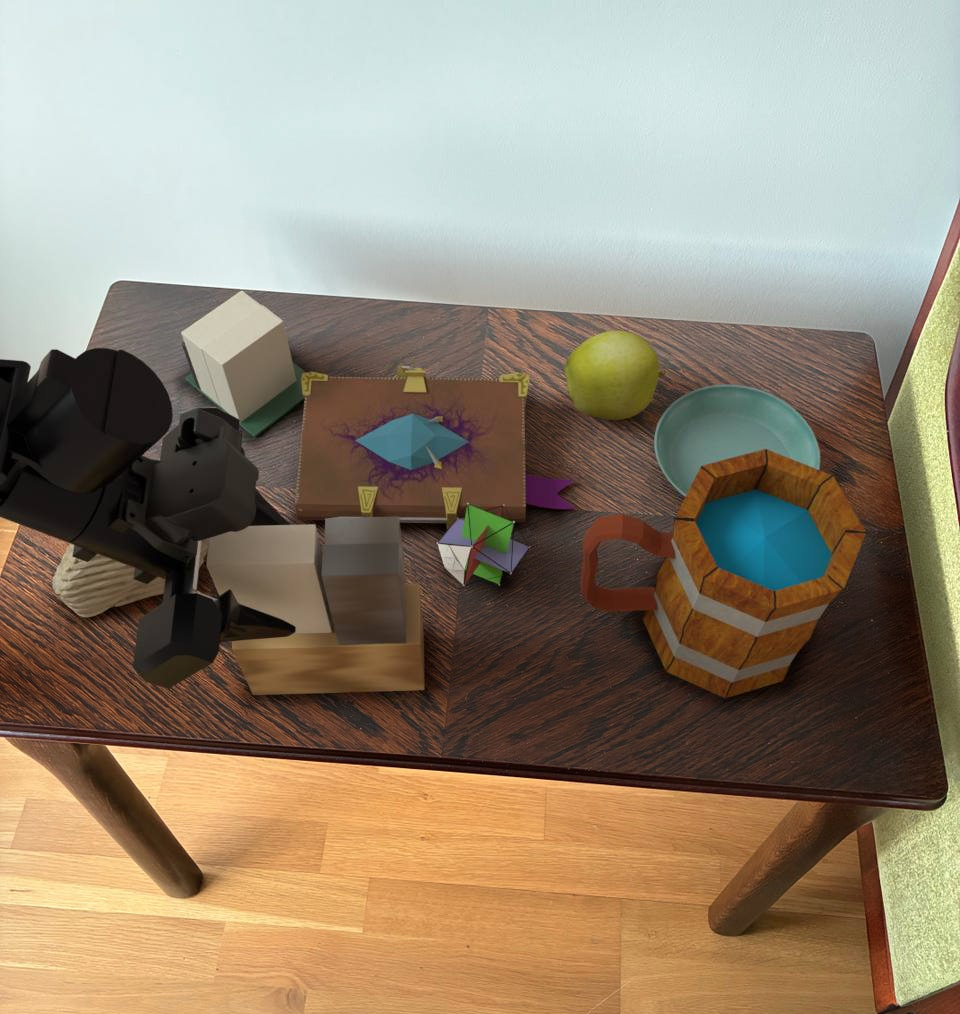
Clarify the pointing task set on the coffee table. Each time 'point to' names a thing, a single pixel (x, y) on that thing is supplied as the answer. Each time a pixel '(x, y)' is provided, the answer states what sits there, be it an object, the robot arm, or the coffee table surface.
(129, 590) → the fossil tooth
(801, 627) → the mug
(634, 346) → the apple
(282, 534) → the cream rectangular block
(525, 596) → the coffee table surface
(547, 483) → the book
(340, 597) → the wood and grey block
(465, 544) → the geometric puzzle
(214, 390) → the cream and green block
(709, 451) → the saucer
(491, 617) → the coffee table surface
